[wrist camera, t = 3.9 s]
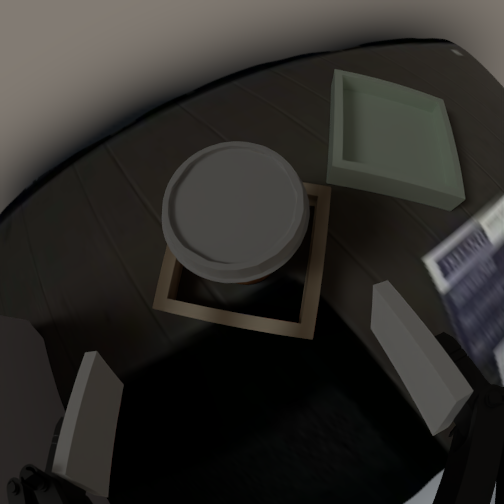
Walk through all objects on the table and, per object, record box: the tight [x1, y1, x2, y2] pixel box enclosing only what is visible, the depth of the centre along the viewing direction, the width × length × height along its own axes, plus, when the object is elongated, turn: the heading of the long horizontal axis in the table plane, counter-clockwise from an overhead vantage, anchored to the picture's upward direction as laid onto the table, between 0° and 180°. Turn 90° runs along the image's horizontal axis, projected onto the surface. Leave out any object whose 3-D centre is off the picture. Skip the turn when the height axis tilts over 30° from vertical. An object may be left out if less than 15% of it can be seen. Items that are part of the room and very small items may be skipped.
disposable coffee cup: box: [162, 141, 310, 285], centre depth 23 cm, size 10×10×12 cm
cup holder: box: [153, 182, 331, 339], centre depth 27 cm, size 14×14×2 cm
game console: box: [0, 316, 110, 504], centre depth 14 cm, size 6×27×20 cm, turn 21°
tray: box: [326, 69, 465, 211], centre depth 30 cm, size 16×16×4 cm
